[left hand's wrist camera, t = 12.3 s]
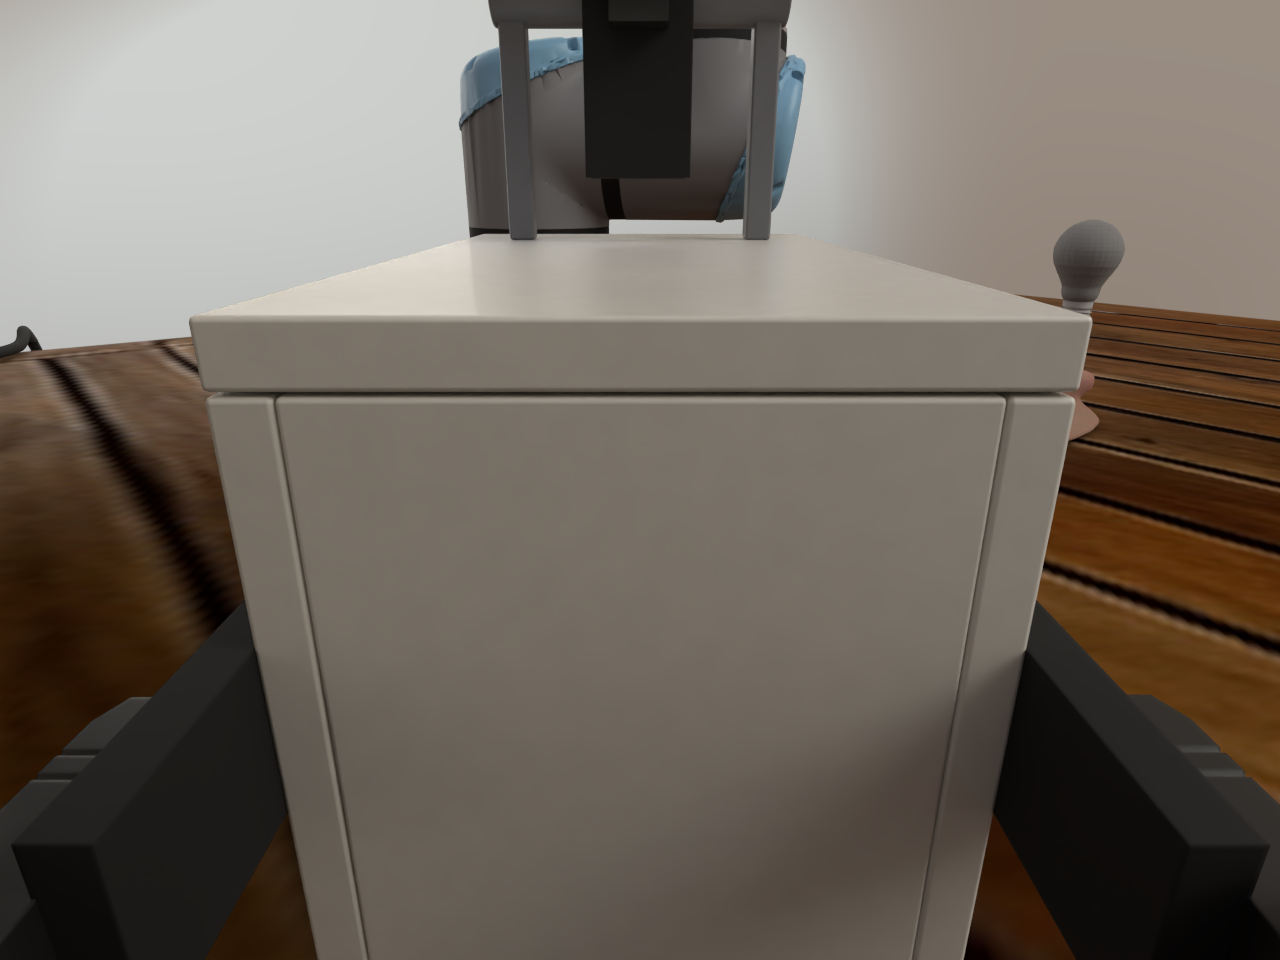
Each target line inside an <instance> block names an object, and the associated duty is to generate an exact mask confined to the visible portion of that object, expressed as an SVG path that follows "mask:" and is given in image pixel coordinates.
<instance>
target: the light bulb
mask: <svg viewBox="0 0 1280 960" xmlns="http://www.w3.org/2000/svg"><path fill="white" fill-rule="evenodd" d="M1124 250H1125V248H1124V241H1123V238H1122V236H1121V234H1120V233H1119V231H1118V230H1117V229H1116V228H1115V227H1114V226H1113V225H1111V224H1109V223H1107V222H1104V221H1101V220H1087V221H1083V222H1080V223H1077V224H1075V225H1073V226H1072V227H1070V228H1069V229H1068V230H1066V231H1065V232H1064V233H1063V234H1062V235H1061V237H1060V238H1059V239H1058V241H1057V243H1056V245H1055V247H1054V252H1053V261H1054V265H1055V267H1056V270H1057V273H1058V275H1059V278H1060V281H1061V284H1062V290H1061V293H1062V297H1063V299H1064V300H1063V306H1064V307H1063V309H1066V310H1070V311H1073V312H1077V313H1081V314H1084V315H1087V316H1089V313H1091V312H1090V309H1092V307H1093V303H1094V301H1095V299H1096V298H1097V297H1098V295H1099V293H1100V290H1101V287H1102V286H1103V284H1104V283H1105V282H1106V280H1107V279H1108V278H1109V277H1110V276H1111V274H1112V273H1113V272H1114V271H1115V269H1116V268H1117V267H1118V266H1119V264H1120V262H1121V260H1122V258H1123V254H1124ZM1089 317H1091V316H1089Z"/></svg>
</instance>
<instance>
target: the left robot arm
mask: <svg viewBox="0 0 1280 960" xmlns="http://www.w3.org/2000/svg"><path fill="white" fill-rule="evenodd" d="M27 345H28V347H29V348H30V350H31V351H37V350H43V349H42V347H41V346H40V344H39V342H38V340H37V338H36V337H35V335H34V334H33V333H32V331H31V330H30V329H29V328H28V327H26V326H20V327H18V329H17V338H16V340H15V341H14V342H13V343H11V344H8V345H5V346H2V347H0V358H3V357H6V356H10V355H13V354H16V353H19V352H21V351H23V350H24V349H25V348H26V346H27ZM1244 772H1245V771H1244V770H1243V769H1242V768H1241V767H1240V766H1239V765H1238V764H1237V763H1236V762H1235V761H1233V760H1232V759H1231V758H1230V757H1229V756H1228V755H1227V754H1226V753H1221V752H1220V747H1219V746H1218V745H1217V744H1216V743H1215V742H1214V741H1213V740H1212V739H1211V738H1210V737H1209V736H1208V735H1207V734H1206V733H1205V732H1204V731H1202V730H1201V729H1200V728H1199V727H1198V726H1197V725H1196V724H1195V723H1194V722H1193V721H1192V720H1191V719H1190V718H1188V717H1186V716H1185V715H1183V714H1181V713H1180V712H1178V711H1176V710H1175V709H1173V708H1172V707H1170V706H1168V705H1167V704H1165V703H1163V702H1162V701H1160V700H1158V699H1157V698H1155V697H1153V696H1152V695H1127V694H1126V693H1125V692H1124V691H1123V690H1122V689H1121V688H1120V687H1119V686H1118V685H1117V684H1116V683H1115V682H1114V681H1113V680H1112V679H1111V678H1110V677H1109V676H1108V675H1107V674H1106V673H1105V671H1104V670H1103V669H1102V668H1101V667H1100V666H1099V665H1098V664H1097V663H1096V662H1095V661H1094V660H1093V659H1092V658H1091V657H1090V656H1089V655H1088V654H1087V653H1086V652H1085V651H1084V650H1083V648H1082V647H1081V646H1080V645H1079V644H1078V643H1077V642H1076V641H1075V640H1074V639H1073V638H1072V637H1071V636H1070V635H1069V634H1068V633H1067V632H1066V631H1065V630H1064V629H1063V628H1062V627H1061V626H1060V624H1059V623H1058V622H1057V621H1056V620H1055V619H1054V618H1053V617H1052V616H1051V615H1050V614H1049V613H1048V612H1047V611H1046V610H1045V609H1044V608H1043V607H1042V606H1041V605H1040V604H1039V603H1038V601H1037V600H1036V602H1035V607H1034V612H1033V617H1032V622H1031V627H1030V632H1029V637H1028V642H1027V647H1026V652H1025V657H1024V662H1023V667H1022V672H1021V677H1020V682H1019V687H1018V692H1017V696H1016V701H1015V706H1014V711H1013V716H1012V721H1011V726H1010V731H1009V736H1008V741H1007V746H1006V751H1005V756H1004V761H1003V766H1002V771H1001V776H1000V781H999V786H998V791H997V795H996V800H995V805H994V810H993V813H994V814H995V816H996V818H997V820H998V821H999V823H1000V825H1001V827H1002V829H1003V830H1004V832H1005V834H1006V836H1007V837H1008V839H1009V841H1010V843H1011V845H1012V846H1013V848H1014V850H1015V852H1016V853H1017V855H1018V857H1019V859H1020V861H1021V862H1022V864H1023V866H1024V868H1025V869H1026V871H1027V873H1028V875H1029V876H1030V878H1031V880H1032V882H1033V884H1034V885H1035V887H1036V889H1037V891H1038V892H1039V894H1040V896H1041V898H1042V900H1043V901H1044V903H1045V905H1046V907H1047V908H1048V910H1049V912H1050V914H1051V916H1052V917H1053V919H1054V921H1055V923H1056V924H1057V926H1058V928H1059V930H1060V931H1061V933H1062V935H1063V937H1064V939H1065V940H1066V942H1067V944H1068V946H1069V947H1070V949H1071V951H1072V953H1073V955H1074V956H1075V958H1076V960H1280V805H1279V804H1278V803H1277V802H1276V801H1275V800H1274V799H1273V798H1272V797H1271V796H1270V795H1269V794H1268V793H1267V792H1266V791H1265V790H1263V789H1262V788H1261V787H1260V786H1259V785H1258V784H1257V783H1256V782H1255V781H1254V780H1253V779H1252V778H1251V777H1246V776H1245V774H1244ZM287 812H288V810H287V805H286V800H285V795H284V790H283V785H282V780H281V775H280V771H279V766H278V761H277V756H276V751H275V746H274V741H273V736H272V731H271V726H270V721H269V716H268V711H267V706H266V701H265V696H264V691H263V686H262V681H261V676H260V671H259V666H258V661H257V656H256V651H255V646H254V641H253V637H252V632H251V627H250V622H249V617H248V612H247V607H246V602H245V600H244V601H243V602H242V603H241V605H240V606H239V607H238V608H237V609H236V610H235V611H234V612H233V613H232V614H231V615H230V616H229V617H228V618H227V619H226V620H225V621H224V622H223V623H222V624H221V625H220V626H219V627H218V629H217V630H216V631H215V632H214V633H213V634H212V635H211V636H210V637H209V638H208V639H207V640H206V641H205V642H204V643H203V644H202V645H201V646H200V647H199V648H198V649H197V650H196V652H195V653H194V654H193V655H192V656H191V657H190V658H189V659H188V660H187V661H186V662H185V663H184V664H183V665H182V666H181V667H180V668H179V669H178V670H177V671H176V672H175V673H174V675H173V676H172V677H171V678H170V679H169V680H168V681H167V682H166V683H165V684H164V685H163V686H162V687H161V688H160V689H159V690H158V691H157V692H156V693H155V694H154V695H153V696H152V697H131V698H129V699H127V700H126V701H124V702H123V703H121V704H119V705H118V706H116V707H114V708H113V709H111V710H109V711H108V712H106V713H104V714H103V715H101V716H99V717H98V718H96V719H94V720H93V721H91V722H90V723H89V724H88V725H87V726H86V727H85V728H84V729H83V730H82V731H81V732H80V733H79V734H78V735H77V736H76V737H75V738H74V739H73V740H72V741H71V742H70V743H69V744H68V745H67V746H66V747H65V748H63V749H62V754H61V756H55V757H54V758H53V759H52V760H51V761H50V762H49V763H48V764H47V765H46V766H45V767H44V768H43V769H42V770H41V771H40V772H39V773H38V777H37V779H36V780H31V781H30V782H29V783H28V784H27V785H26V786H24V787H23V788H22V789H21V790H20V791H19V792H18V793H17V794H16V795H15V796H14V797H13V798H12V799H11V800H10V801H9V802H8V803H7V804H6V805H5V806H4V807H3V808H2V809H1V810H0V960H205V958H206V956H207V954H208V953H209V951H210V949H211V947H212V945H213V944H214V942H215V940H216V938H217V937H218V935H219V933H220V931H221V929H222V928H223V926H224V924H225V922H226V921H227V919H228V917H229V915H230V913H231V912H232V910H233V908H234V906H235V905H236V903H237V901H238V899H239V898H240V896H241V894H242V892H243V890H244V889H245V887H246V885H247V883H248V882H249V880H250V878H251V876H252V874H253V873H254V871H255V869H256V867H257V866H258V864H259V862H260V860H261V858H262V857H263V855H264V853H265V851H266V850H267V848H268V846H269V844H270V842H271V841H272V839H273V837H274V835H275V834H276V832H277V830H278V828H279V827H280V825H281V823H282V821H283V819H284V818H285V816H286V814H287Z"/></svg>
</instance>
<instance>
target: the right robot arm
mask: <svg viewBox="0 0 1280 960" xmlns="http://www.w3.org/2000/svg"><path fill="white" fill-rule="evenodd" d="M693 23H694V0H582V31H583V37H572V38H563V37H553V38H543V39H535V40H529V63H530V85H531V108H532V131H533V153H534V176H535V199H536V221H537V234H609V220H610V219H626V220H716V222H723V221H724V220H735V219H743V214H744V191H745V169H746V146H747V123H748V100H749V78H750V55H751V32H752V29H693ZM786 47H787V28H786V27H784V28H782V29H781V46H780V64H779V82H778V100H777V118H776V136H775V154H774V172H773V190H772V208H771V212H772V211H773V210H774V209H775V208H776V206H777V205H778V203H779V201H780V198H781V195H782V192H783V188H784V184H785V180H786V176H787V171H788V167H789V162H790V157H791V152H792V147H793V142H794V137H795V132H796V126H797V121H798V115H799V110H800V103H801V97H802V90H803V78H804V74H805V62H804V61H803V59H801V58H797V57H796V56H795V55H790V56H788V57H786ZM460 95H461V117H460V121H459V127H460V130H461V131H462V144H463V156H464V169H465V182H466V194H467V207H468V219H469V231H470V238H471V237H475V236H478V235H482V234H510V230H509V212H508V194H507V176H506V158H505V140H504V122H503V104H502V86H501V68H500V50H499V47H497V48H494V49H490V50H488V51H485V52H483V53H481V54H479V55H477V56H476V57H474V58H473V59H471V60H470V61H469V62H468V63H467V64H466V66H465V67H464V69H463V71H462V74H461V79H460Z"/></svg>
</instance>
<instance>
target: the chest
mask: <svg viewBox="0 0 1280 960" xmlns="http://www.w3.org/2000/svg"><path fill="white" fill-rule="evenodd" d="M206 408H207V413H208V418H209V423H210V428H211V433H212V438H213V443H214V448H215V453H216V458H217V463H218V468H219V473H220V478H221V483H222V488H223V493H224V498H225V503H226V507H227V512H228V517H229V522H230V527H231V532H232V537H233V542H234V547H235V552H236V557H237V562H238V567H239V572H240V577H241V582H242V587H243V592H244V597H245V602H246V607H247V612H248V617H249V622H250V627H251V632H252V637H253V641H254V646H255V651H256V656H257V661H258V666H259V671H260V676H261V681H262V686H263V691H264V696H265V701H266V706H267V711H268V716H269V721H270V726H271V731H272V736H273V741H274V746H275V751H276V756H277V761H278V766H279V771H280V775H281V780H282V785H283V790H284V795H285V800H286V805H287V810H288V815H289V820H290V825H291V830H292V835H293V840H294V845H295V850H296V855H297V860H298V865H299V870H300V875H301V880H302V885H303V890H304V895H305V900H306V904H307V909H308V914H309V919H310V924H311V929H312V934H313V939H314V944H315V949H316V954H317V959H318V960H963V959H964V954H965V949H966V944H967V939H968V934H969V929H970V924H971V919H972V914H973V909H974V904H975V899H976V894H977V890H978V885H979V880H980V875H981V870H982V865H983V860H984V855H985V850H986V845H987V840H988V835H989V830H990V825H991V820H992V815H993V810H994V805H995V800H996V795H997V791H998V786H999V781H1000V776H1001V771H1002V766H1003V761H1004V756H1005V751H1006V746H1007V741H1008V736H1009V731H1010V726H1011V721H1012V716H1013V711H1014V706H1015V701H1016V696H1017V692H1018V687H1019V682H1020V677H1021V672H1022V667H1023V662H1024V657H1025V652H1026V647H1027V642H1028V637H1029V632H1030V627H1031V622H1032V617H1033V612H1034V607H1035V602H1036V597H1037V593H1038V588H1039V583H1040V578H1041V573H1042V568H1043V563H1044V558H1045V553H1046V548H1047V543H1048V538H1049V533H1050V528H1051V523H1052V518H1053V513H1054V508H1055V503H1056V498H1057V494H1058V489H1059V484H1060V479H1061V474H1062V469H1063V464H1064V459H1065V454H1066V449H1067V444H1068V439H1069V434H1070V429H1071V424H1072V419H1073V414H1074V409H1075V400H1074V398H1073V397H1071V396H1068V395H1066V394H1064V393H1062V392H219V393H217V394H215V395H213V396H211V397H209V398H207V400H206Z"/></svg>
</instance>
